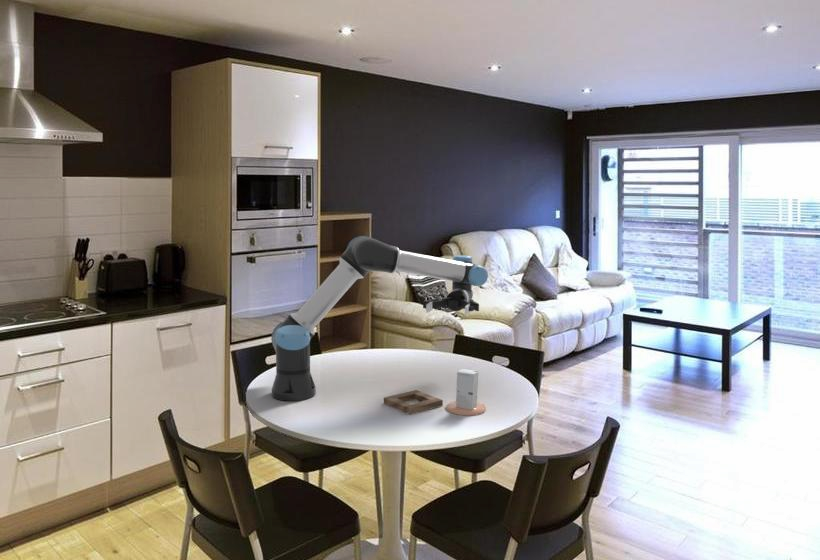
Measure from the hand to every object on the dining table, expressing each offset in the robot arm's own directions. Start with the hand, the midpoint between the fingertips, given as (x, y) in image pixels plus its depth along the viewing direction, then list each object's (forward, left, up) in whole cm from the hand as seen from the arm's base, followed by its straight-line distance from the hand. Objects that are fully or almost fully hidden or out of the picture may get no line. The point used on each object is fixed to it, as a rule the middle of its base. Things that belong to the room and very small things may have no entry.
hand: (446, 309), depth 228 cm
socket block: (+2, -16, -30) cm, 34 cm away
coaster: (+16, -5, -30) cm, 34 cm away
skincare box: (+16, -5, -30) cm, 34 cm away
